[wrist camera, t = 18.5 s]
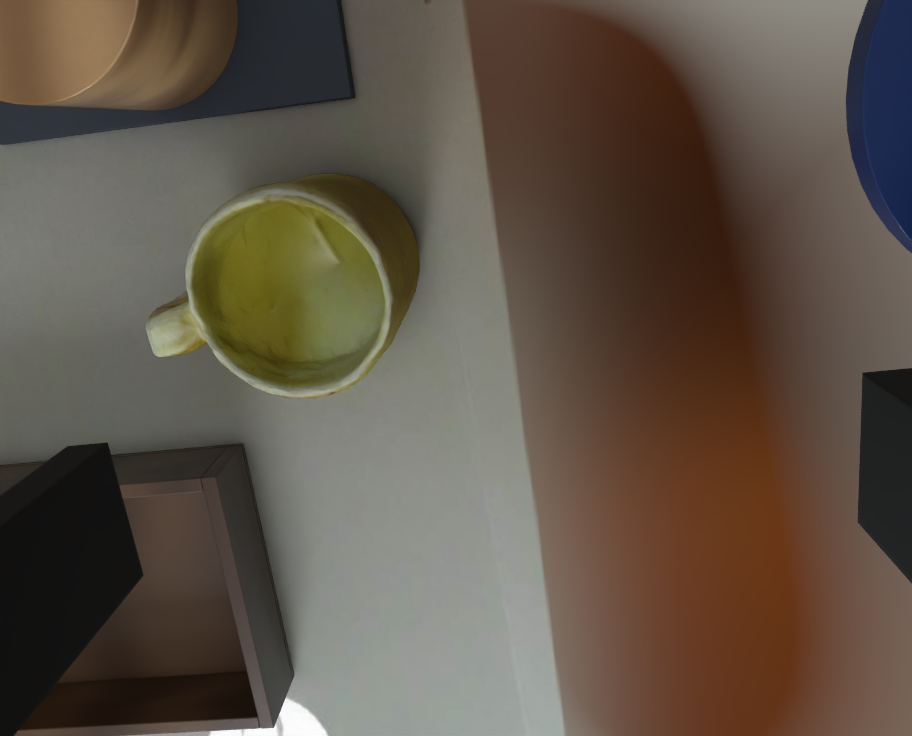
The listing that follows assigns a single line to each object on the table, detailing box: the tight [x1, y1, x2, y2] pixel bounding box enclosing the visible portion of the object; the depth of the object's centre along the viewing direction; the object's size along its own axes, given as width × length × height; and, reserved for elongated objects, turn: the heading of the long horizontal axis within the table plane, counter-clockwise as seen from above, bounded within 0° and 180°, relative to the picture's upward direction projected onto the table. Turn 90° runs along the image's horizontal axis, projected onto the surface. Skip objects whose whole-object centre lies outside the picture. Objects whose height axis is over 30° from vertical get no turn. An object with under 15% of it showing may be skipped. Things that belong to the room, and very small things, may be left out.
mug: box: [146, 174, 420, 398], centre depth 36 cm, size 12×10×10 cm
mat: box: [0, 0, 355, 145], centre depth 36 cm, size 18×10×1 cm, turn 97°
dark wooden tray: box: [0, 444, 294, 736], centre depth 44 cm, size 20×16×4 cm
